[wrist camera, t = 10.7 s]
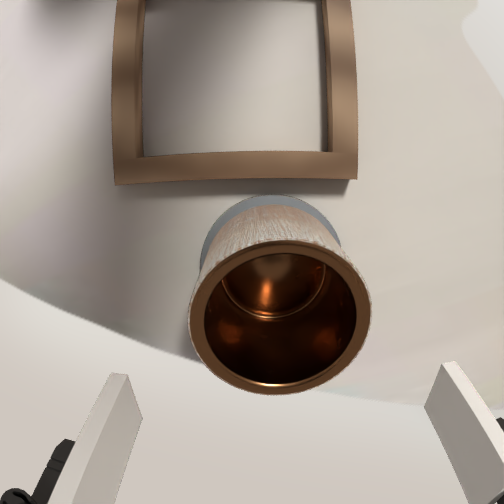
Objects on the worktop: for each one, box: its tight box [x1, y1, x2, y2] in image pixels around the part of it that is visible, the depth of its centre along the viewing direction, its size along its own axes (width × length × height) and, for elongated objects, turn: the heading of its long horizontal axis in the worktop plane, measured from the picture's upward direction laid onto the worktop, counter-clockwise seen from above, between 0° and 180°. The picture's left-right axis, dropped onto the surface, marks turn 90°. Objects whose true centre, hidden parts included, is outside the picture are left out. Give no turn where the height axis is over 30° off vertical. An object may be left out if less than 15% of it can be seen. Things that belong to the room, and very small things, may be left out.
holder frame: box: [111, 0, 358, 185], centre depth 21 cm, size 19×19×2 cm
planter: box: [188, 204, 372, 395], centre depth 22 cm, size 11×11×10 cm
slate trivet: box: [201, 194, 341, 270], centre depth 27 cm, size 12×12×1 cm
